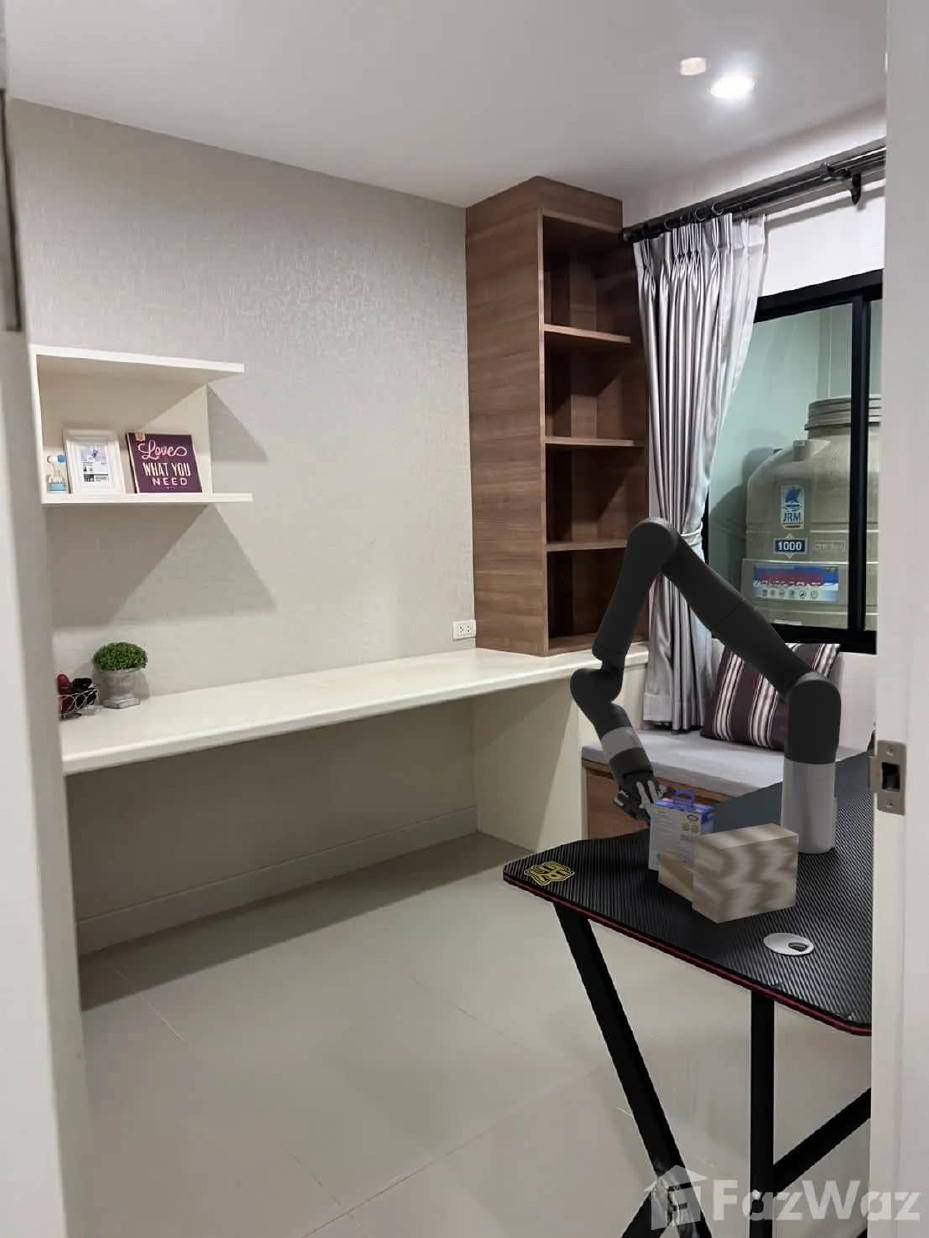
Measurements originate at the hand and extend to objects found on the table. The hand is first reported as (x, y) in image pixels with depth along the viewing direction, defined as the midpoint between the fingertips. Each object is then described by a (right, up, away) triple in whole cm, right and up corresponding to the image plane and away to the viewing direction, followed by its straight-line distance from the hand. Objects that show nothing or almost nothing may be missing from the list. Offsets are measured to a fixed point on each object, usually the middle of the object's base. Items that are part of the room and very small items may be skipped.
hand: (661, 837), depth 169 cm
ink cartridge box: (+2, -5, -5) cm, 7 cm away
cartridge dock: (+7, -6, -14) cm, 17 cm away
